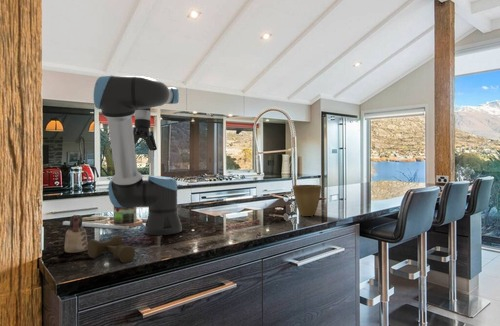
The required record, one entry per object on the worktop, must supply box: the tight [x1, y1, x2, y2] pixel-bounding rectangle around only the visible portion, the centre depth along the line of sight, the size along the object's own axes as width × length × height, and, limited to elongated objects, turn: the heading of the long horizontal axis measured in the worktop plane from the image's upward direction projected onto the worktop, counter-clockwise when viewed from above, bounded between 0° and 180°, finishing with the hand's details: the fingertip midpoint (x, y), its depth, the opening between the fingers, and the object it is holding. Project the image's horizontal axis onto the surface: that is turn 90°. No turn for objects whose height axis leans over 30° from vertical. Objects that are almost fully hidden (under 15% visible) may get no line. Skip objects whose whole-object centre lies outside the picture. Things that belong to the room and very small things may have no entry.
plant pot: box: [292, 184, 322, 217], centre depth 182 cm, size 15×15×16 cm
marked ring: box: [106, 219, 144, 228], centre depth 161 cm, size 15×15×2 cm
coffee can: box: [113, 205, 137, 224], centre depth 161 cm, size 10×10×14 cm
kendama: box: [86, 235, 136, 264], centre depth 109 cm, size 6×10×20 cm
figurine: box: [64, 214, 89, 254], centre depth 117 cm, size 7×7×12 cm
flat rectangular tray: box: [62, 214, 148, 230], centre depth 164 cm, size 36×19×2 cm, turn 71°
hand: (141, 162), depth 170 cm, fingers open, 13 cm apart
